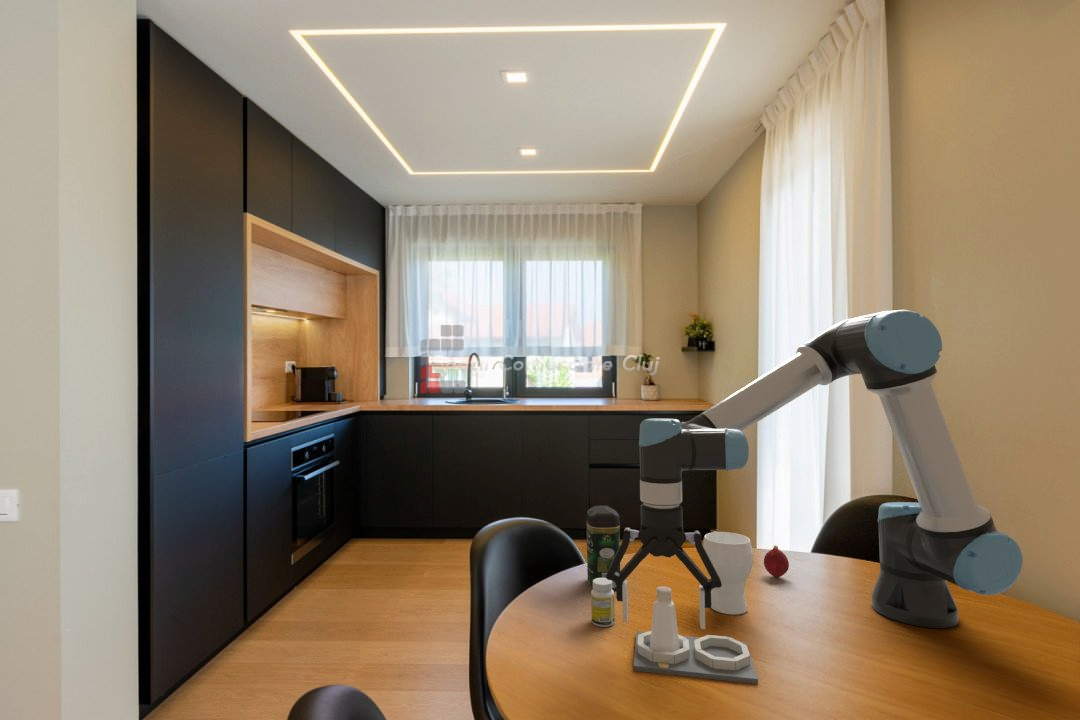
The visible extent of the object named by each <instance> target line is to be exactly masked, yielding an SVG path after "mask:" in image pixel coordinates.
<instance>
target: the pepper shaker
mask: <svg viewBox="0 0 1080 720" xmlns="http://www.w3.org/2000/svg"><path fill="white" fill-rule="evenodd" d="M655 591H656V600H654V601H653V606H652V617H651V619H652V621H651V628H650V629H651V630H650V631H651V640H650V648H651V649H653V650H655V651H665V652H674V651H676V650H679V649H680V645H679V636H678V634H679V628H678V621H677V613H676V605H675V603H674V601H673V600H672V599H673V596H672V592H673V589H672V587H671V588H670V587H668V586H664V585H663V586H662V585H661V586H657V587H656V588H655Z"/></svg>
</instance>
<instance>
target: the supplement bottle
mask: <svg viewBox="0 0 1080 720" xmlns="http://www.w3.org/2000/svg"><path fill="white" fill-rule="evenodd" d="M590 599H591V602H590V606H591V623H592V624H593V625H594V626H596V627H599V628H609V627H611V626H613V625H614V624H615V621H616V619H615V615H616V614H615V610H616V609H615V592H614V589H613V590H612V581H611V580H608V579H607V578H596V579H594V580H593V588H592V589H591V592H590Z"/></svg>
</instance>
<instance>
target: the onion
mask: <svg viewBox="0 0 1080 720" xmlns="http://www.w3.org/2000/svg"><path fill="white" fill-rule="evenodd" d="M763 566H764V568H765V570H766V571H767V572H768V574H770V575H771V576H772V577H773V578H774V579H778V578H780V577H782V576H784V575H785V574H786V573H787V572H788V571H789V566H790V564H789V559H788V558H787V556H786V554H785V553H784V552H783V551H782V550H780V549H779V546H777V545H776V544H775V545H773V548H772V549H769V551H767V553H765V555H764V558H763Z"/></svg>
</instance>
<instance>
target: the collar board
mask: <svg viewBox="0 0 1080 720" xmlns="http://www.w3.org/2000/svg"><path fill="white" fill-rule="evenodd" d="M635 635H636V636H635V646H634V657H633V658H634V659H633V671H634V672H644V673H651V674H652V673H653V674H660V675H661V674H662V675H663V674H664V675H669V676H670V675H671V676H679V677H689V678H690V677H691V678H699V679H707V680H716V681H717V680H718V681H728V682H735V683H745V684H753V685H755V684H756V685H759V678H758V674H757V671H756V669H755V666H754V662H753V660H752V657H751V654H750V650H749V647H748V645H747V642H746V641H745V640H744V641H742V640H737V639H735V638H733V637H730V636H726V635H713V634H712V635H711V634H706V635H704V636H702V637H701V636H700V637H699V636H697V637H696V636H687V635H680V634H679V633H678V636H679V645H680V649H679V650H676V651H674V652H665V651H655V650H653V649H651V648H650V640H651V630H648V631H636V634H635Z"/></svg>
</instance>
